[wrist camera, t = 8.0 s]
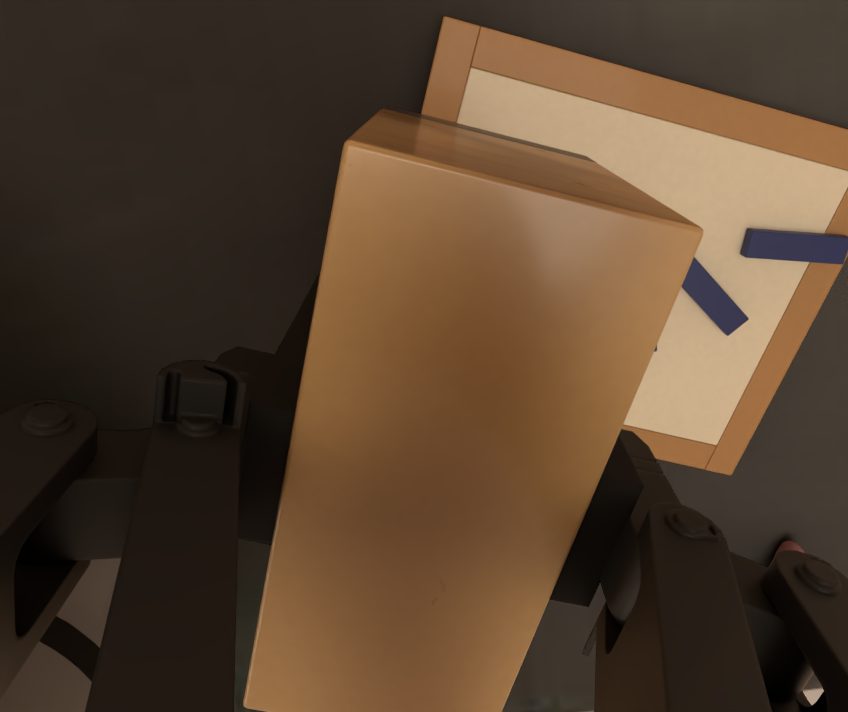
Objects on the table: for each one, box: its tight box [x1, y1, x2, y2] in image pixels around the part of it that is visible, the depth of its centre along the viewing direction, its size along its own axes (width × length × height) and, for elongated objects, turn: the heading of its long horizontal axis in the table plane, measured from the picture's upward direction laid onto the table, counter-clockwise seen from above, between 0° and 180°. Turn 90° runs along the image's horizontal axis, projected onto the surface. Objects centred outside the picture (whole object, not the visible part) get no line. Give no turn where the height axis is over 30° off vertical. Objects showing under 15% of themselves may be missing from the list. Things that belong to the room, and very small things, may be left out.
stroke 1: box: [681, 257, 749, 336], centre depth 30 cm, size 4×1×1 cm, turn 46°
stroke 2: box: [740, 228, 848, 264], centre depth 29 cm, size 4×1×1 cm, turn 86°
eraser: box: [243, 105, 703, 712], centre depth 14 cm, size 5×11×8 cm, turn 167°
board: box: [421, 16, 848, 475], centre depth 30 cm, size 20×17×1 cm
